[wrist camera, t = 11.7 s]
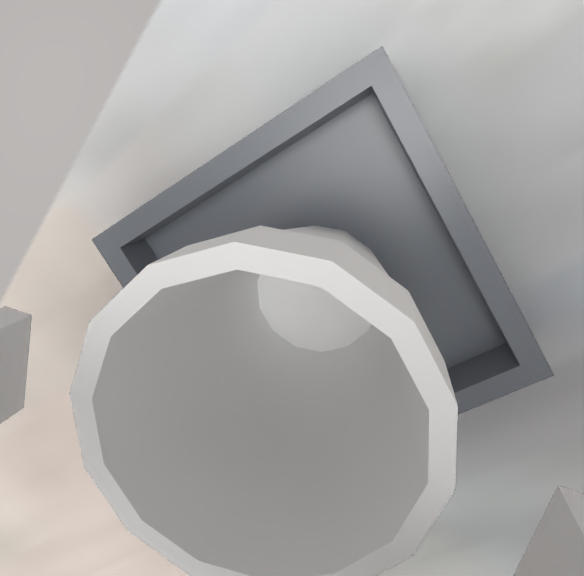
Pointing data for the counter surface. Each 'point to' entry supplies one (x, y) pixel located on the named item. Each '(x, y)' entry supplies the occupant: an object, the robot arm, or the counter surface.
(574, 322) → the counter surface
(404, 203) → the bin
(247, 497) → the foam cup
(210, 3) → the counter surface
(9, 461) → the counter surface
